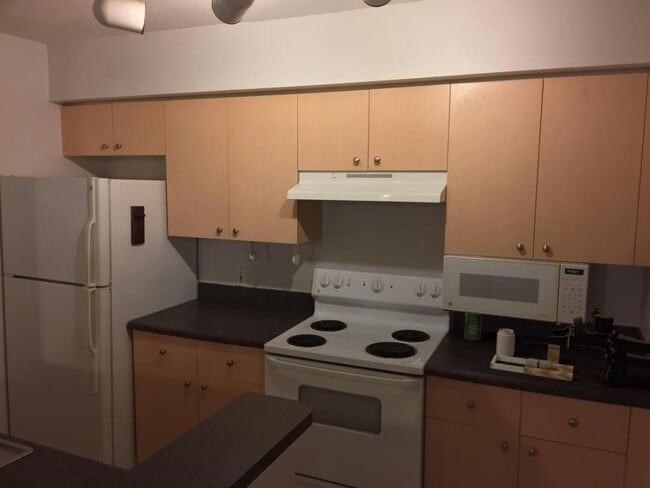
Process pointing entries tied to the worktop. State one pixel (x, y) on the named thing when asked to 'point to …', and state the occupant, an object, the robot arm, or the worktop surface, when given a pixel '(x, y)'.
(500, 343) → the can
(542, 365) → the chip
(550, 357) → the yellow wooden block
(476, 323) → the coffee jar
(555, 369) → the slot board
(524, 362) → the tray
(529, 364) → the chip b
